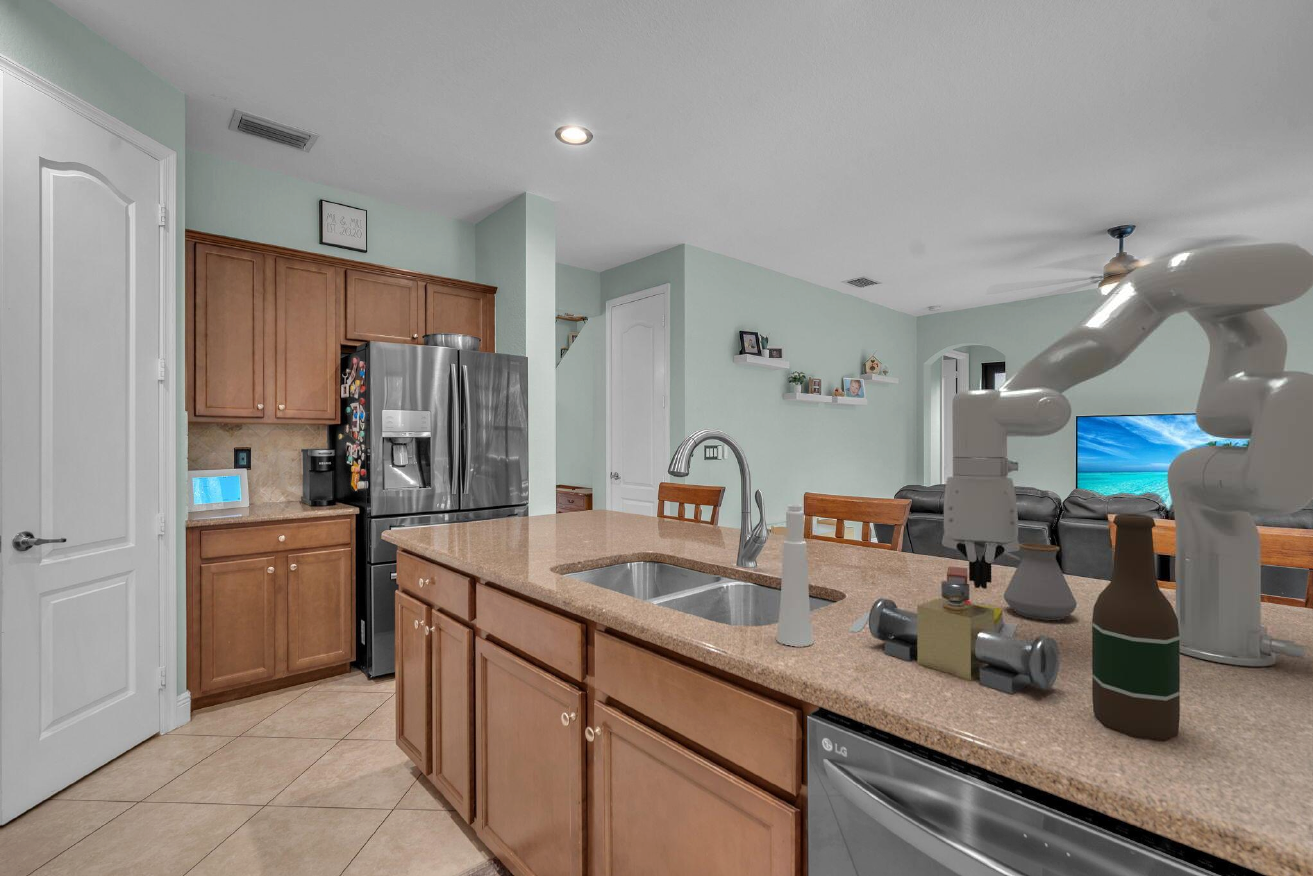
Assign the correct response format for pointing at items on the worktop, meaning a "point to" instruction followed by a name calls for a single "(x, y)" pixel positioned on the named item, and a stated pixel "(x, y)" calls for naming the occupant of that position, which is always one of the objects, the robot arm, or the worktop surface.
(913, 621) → the valve
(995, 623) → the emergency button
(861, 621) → the butter knife
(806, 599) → the cosmetic bottle
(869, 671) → the worktop surface
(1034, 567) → the coffee pot
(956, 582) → the lever
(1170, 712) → the beer bottle
